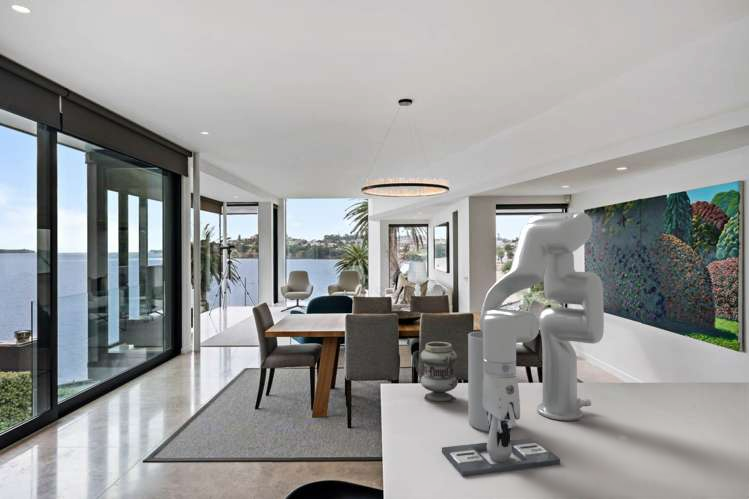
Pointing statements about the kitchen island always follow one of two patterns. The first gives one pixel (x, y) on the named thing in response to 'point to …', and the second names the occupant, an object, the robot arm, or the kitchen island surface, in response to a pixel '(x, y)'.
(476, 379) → the cylinder vase
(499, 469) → the label board
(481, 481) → the kitchen island surface
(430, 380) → the apothecary jar
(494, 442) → the salt shaker
